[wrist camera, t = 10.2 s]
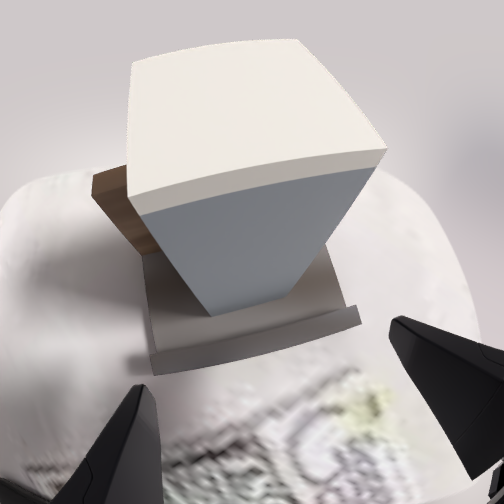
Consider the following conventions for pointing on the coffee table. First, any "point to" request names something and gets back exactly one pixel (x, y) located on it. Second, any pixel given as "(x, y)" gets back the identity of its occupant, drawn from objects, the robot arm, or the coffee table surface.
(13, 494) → the carrying case or bag
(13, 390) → the coffee table surface
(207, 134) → the white tall block
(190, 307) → the stand
